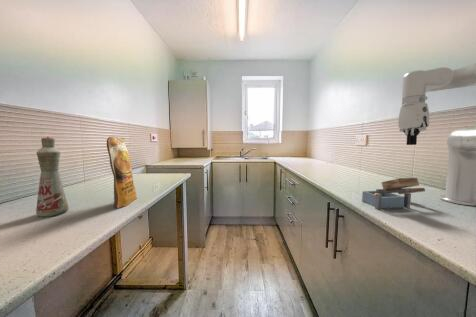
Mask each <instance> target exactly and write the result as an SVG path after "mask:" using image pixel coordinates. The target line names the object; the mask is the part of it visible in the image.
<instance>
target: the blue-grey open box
mask: <svg viewBox="0 0 476 317" xmlns="http://www.w3.org/2000/svg"><path fill="white" fill-rule="evenodd" d="M375 193H376V190H364V191H362V194H361V195H362V196H361V200H362V202H363V203H366V204H367V205H370V206H373V207H375V197H376V195H374V194H375ZM379 194H381V195H382V202H381V210H388V209H389V210H390V209H392V210H394V209H404V207H403V205H404V196H403V195H401V194H397V193H379Z"/></svg>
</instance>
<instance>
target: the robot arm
mask: <svg viewBox="0 0 476 317" xmlns="http://www.w3.org/2000/svg"><path fill="white" fill-rule="evenodd" d="M473 86H476V63H474V64H468V65H465V66H463V67H460V68H456V69H454V70H453V69H451V68H449V67H436V68H432V69H428V70H421V69H419V70H413V71H409V72H407V73H405V74H404V75H403V77H402V92H401V93H402V95H401V96H402V97H401V98H402V100H401V106H400V109H399V114H398V122H397V123H398V125H397V126H398V129H399V132H400V133H401V132H402V133H404V135H405V136H406V145H407V146H414V145H417V141H418V136H419V135H420V133H421V132H424V131H427V128H428V127H429V126H430V110H429V105H428V103H427V102H426V101H427V100H428V96H426V93H430V92H438V91H444V90H451V89H458V88H459V89H460V88H466V87H473ZM446 144H447V150H448V161H447V162H448V163H447V171H446V182H445V184H446V185H445V192H444V193H445V194H442V195H440V196H439V199H440V200H442V201H444V202H448V203H452V204H457V205H463V206H472V207H473V206H475V207H476V124H475V126H473V127H472V126H471V127H461V128H458V129H455V130H453V131H451V132H450V133H449V134H448V136H447V138H446Z"/></svg>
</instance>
